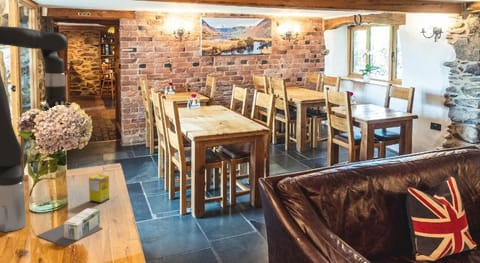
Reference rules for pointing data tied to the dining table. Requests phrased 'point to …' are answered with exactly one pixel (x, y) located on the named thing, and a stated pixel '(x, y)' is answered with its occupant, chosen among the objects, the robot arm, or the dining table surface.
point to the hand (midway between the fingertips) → (57, 127)
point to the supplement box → (99, 188)
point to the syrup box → (81, 223)
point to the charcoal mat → (58, 235)
